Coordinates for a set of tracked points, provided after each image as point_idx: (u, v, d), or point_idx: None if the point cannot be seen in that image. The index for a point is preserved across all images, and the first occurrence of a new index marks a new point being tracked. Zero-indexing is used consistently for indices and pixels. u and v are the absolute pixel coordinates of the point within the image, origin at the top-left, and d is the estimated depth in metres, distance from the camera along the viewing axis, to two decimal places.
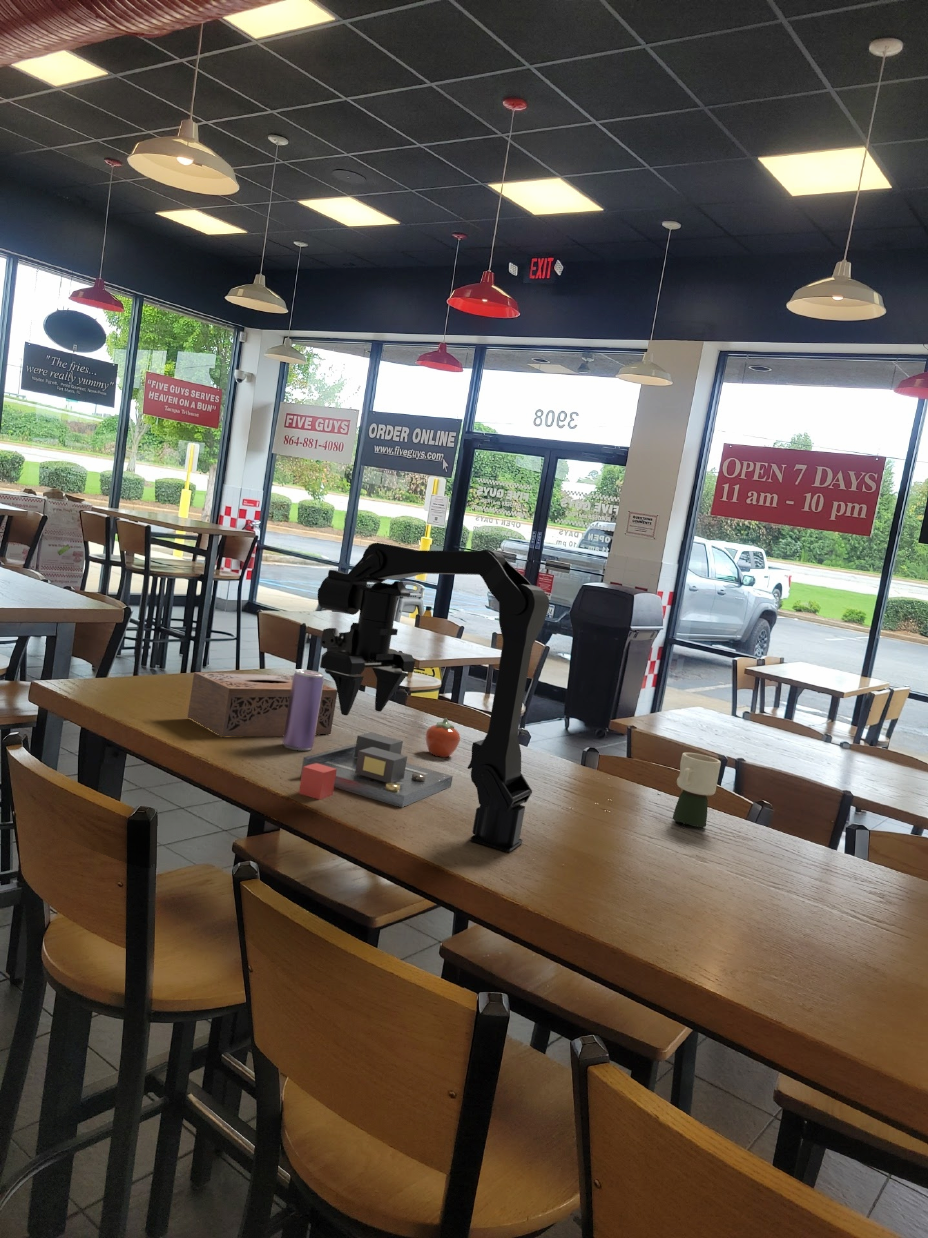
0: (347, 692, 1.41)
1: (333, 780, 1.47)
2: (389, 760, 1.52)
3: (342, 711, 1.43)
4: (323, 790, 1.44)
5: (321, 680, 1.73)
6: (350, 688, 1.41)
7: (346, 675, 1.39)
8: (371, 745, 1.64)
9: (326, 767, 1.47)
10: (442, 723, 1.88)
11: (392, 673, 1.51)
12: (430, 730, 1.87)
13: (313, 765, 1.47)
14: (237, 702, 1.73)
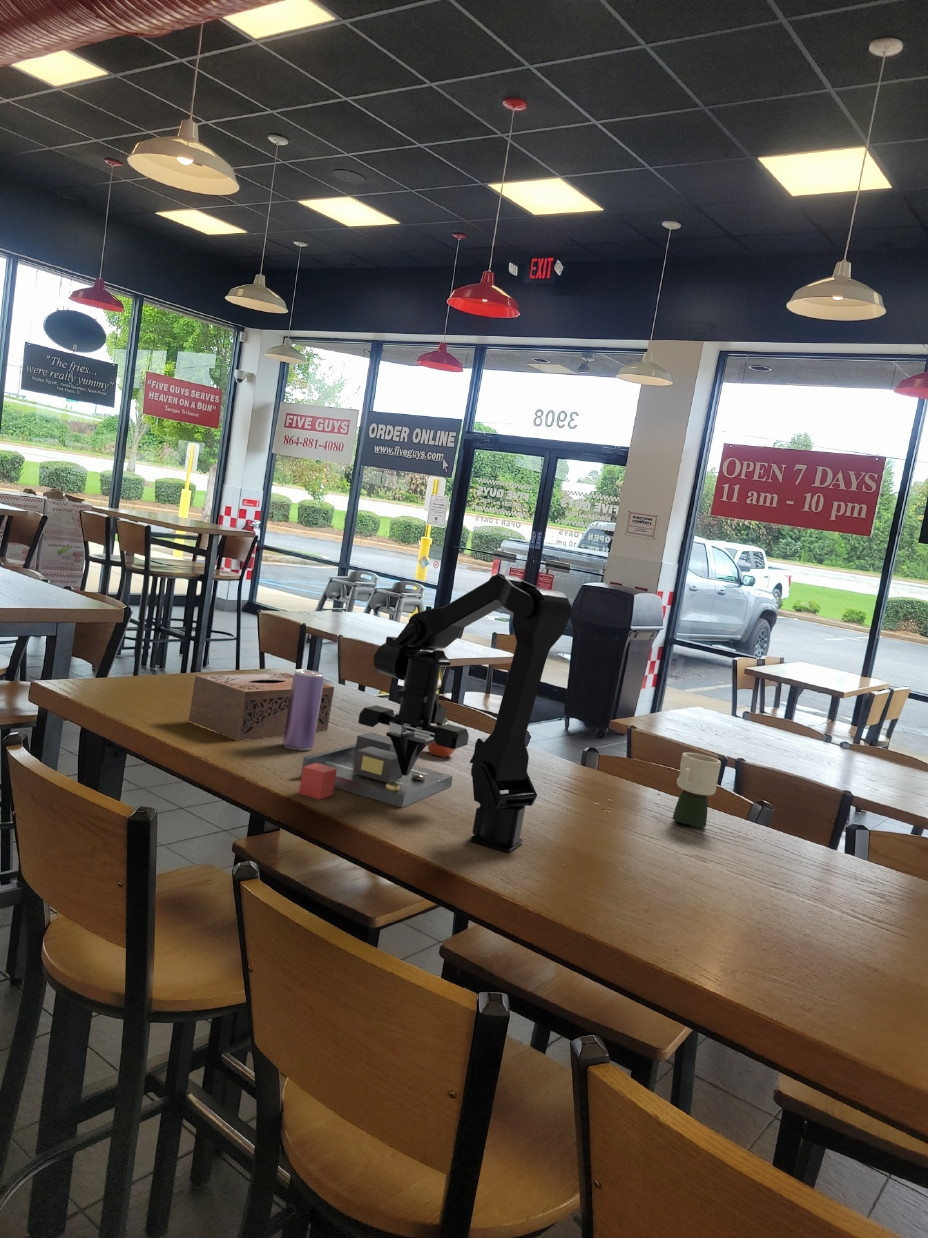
0: None
1: (333, 780, 1.47)
2: (387, 759, 1.52)
3: None
4: (323, 790, 1.44)
5: (321, 680, 1.73)
6: None
7: (388, 732, 1.53)
8: (371, 745, 1.64)
9: (326, 767, 1.47)
10: None
11: None
12: None
13: (313, 765, 1.47)
14: (251, 705, 1.73)
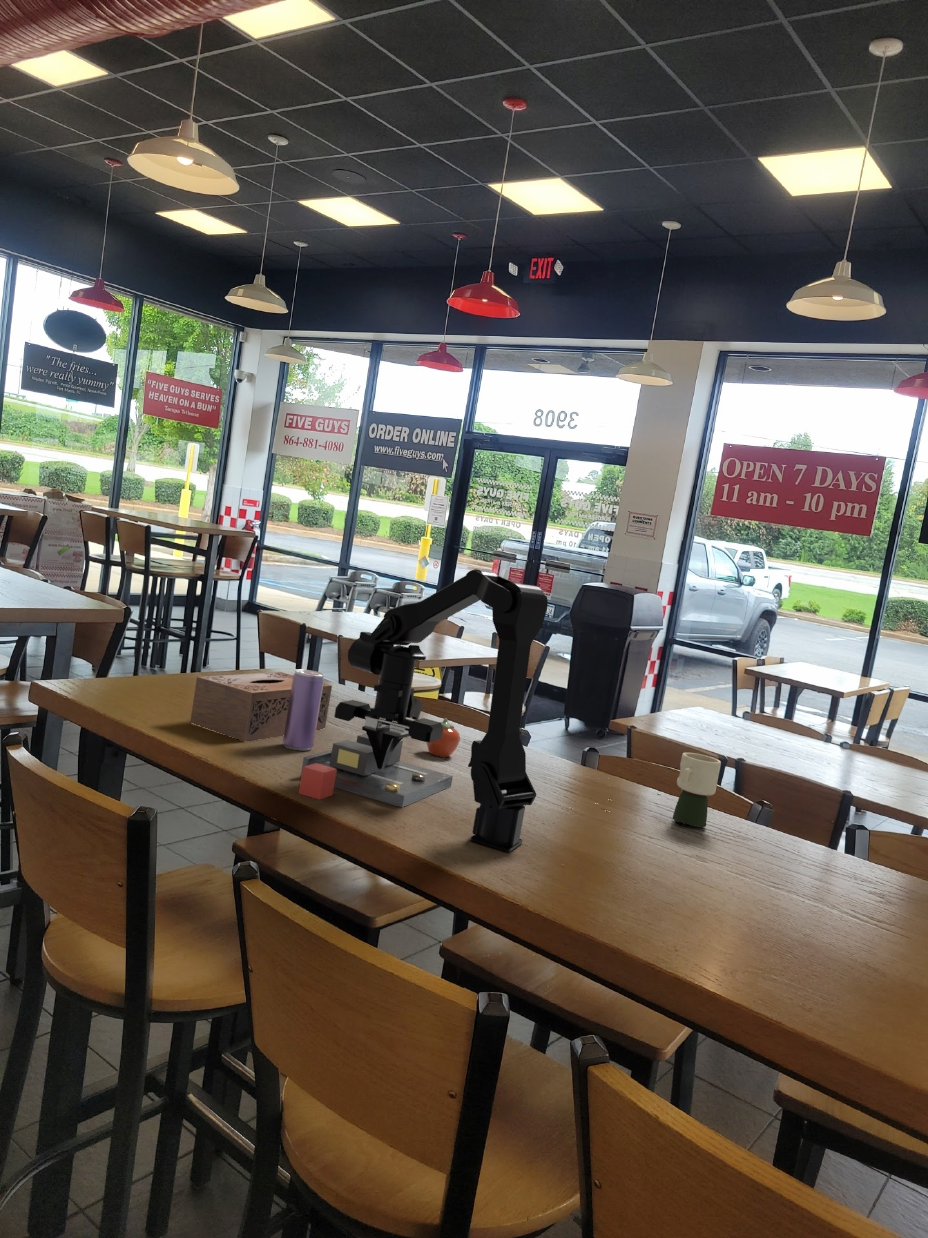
0: None
1: (333, 780, 1.47)
2: (363, 753, 1.54)
3: None
4: (323, 790, 1.44)
5: (321, 680, 1.73)
6: None
7: (364, 726, 1.54)
8: None
9: (326, 767, 1.47)
10: (442, 723, 1.88)
11: None
12: None
13: (313, 765, 1.47)
14: (257, 706, 1.73)
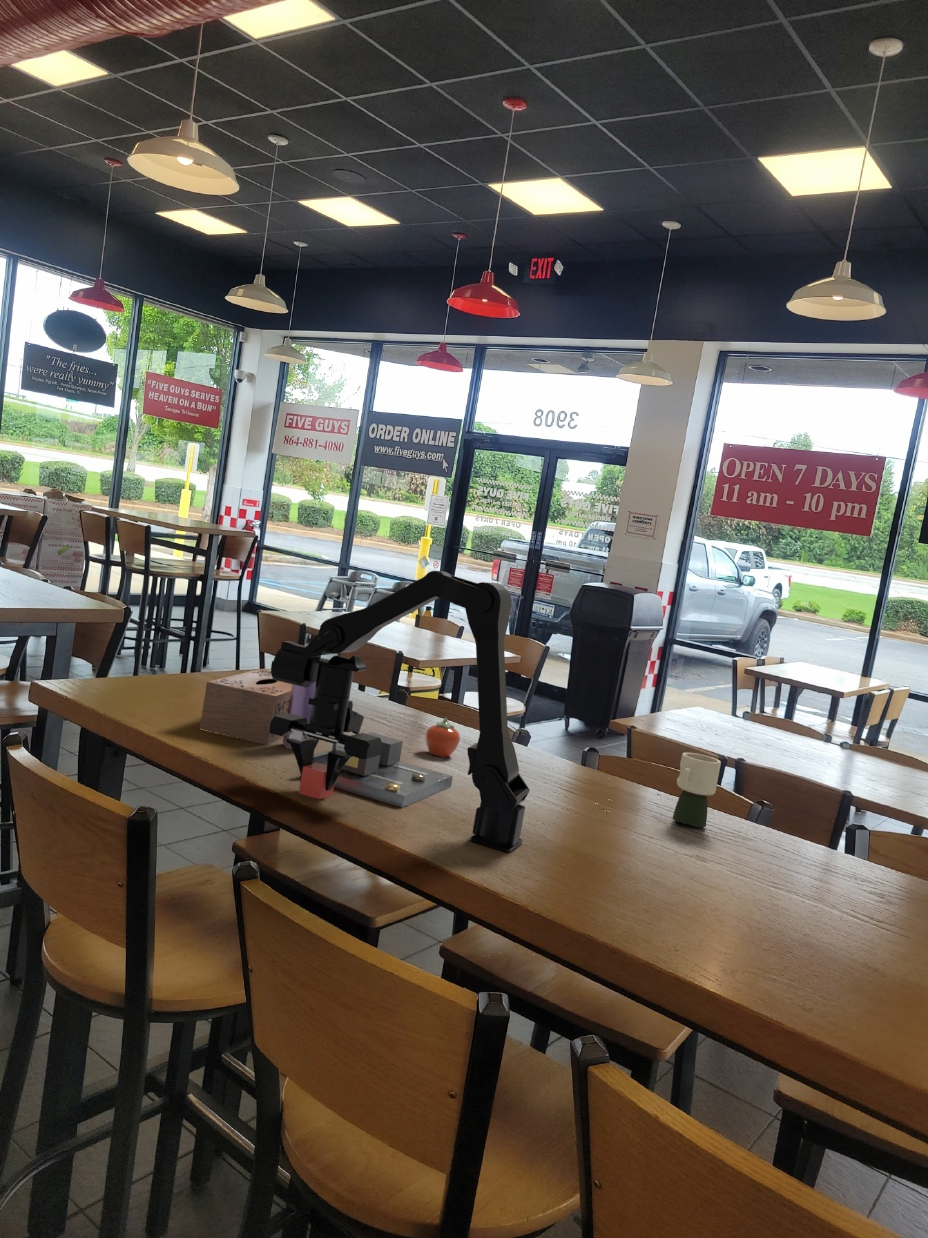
0: None
1: None
2: None
3: None
4: (323, 790, 1.44)
5: None
6: None
7: (289, 738, 1.46)
8: None
9: (326, 767, 1.47)
10: (442, 723, 1.88)
11: None
12: (430, 730, 1.87)
13: (313, 765, 1.47)
14: (278, 708, 1.74)
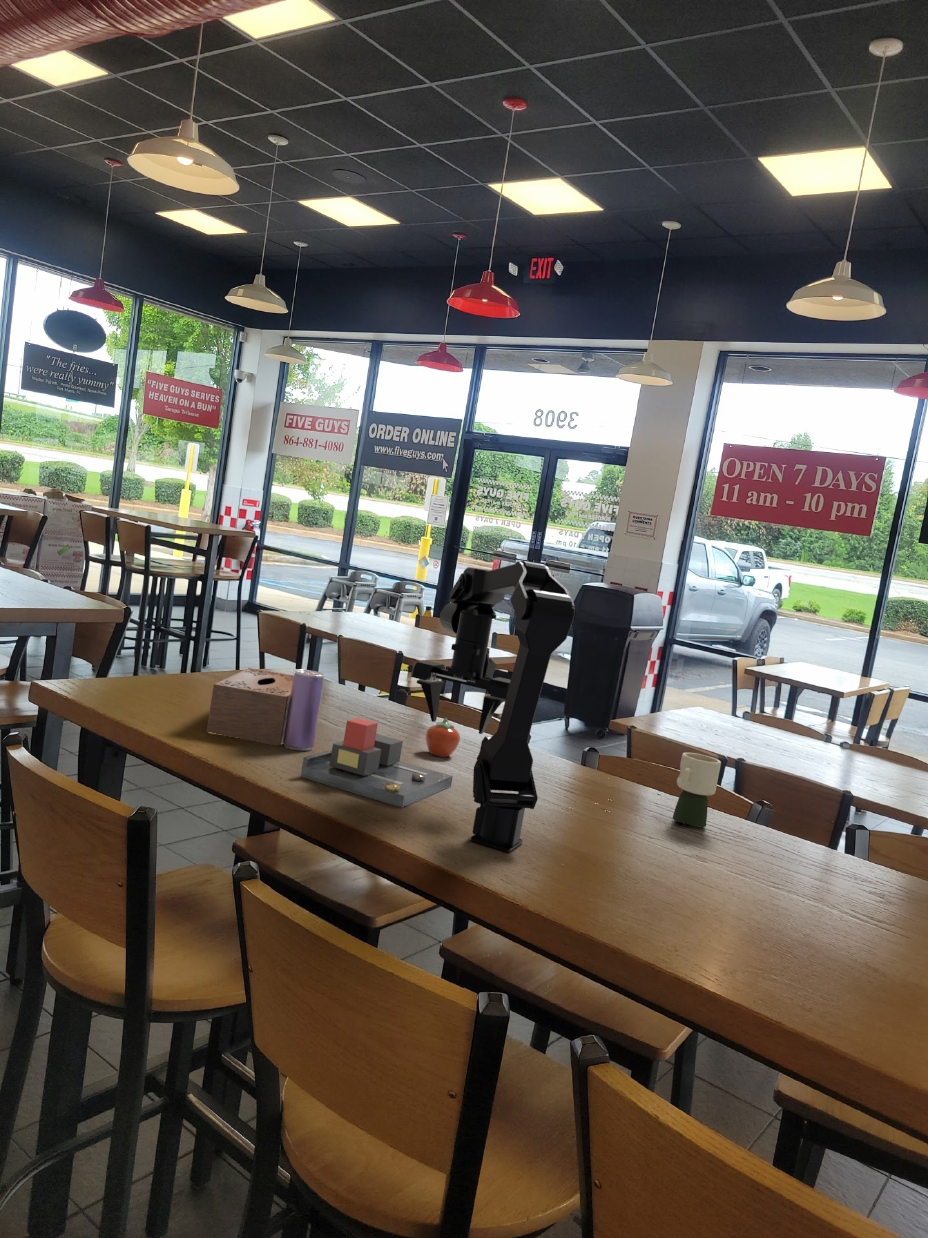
0: None
1: (374, 733, 1.57)
2: (363, 753, 1.54)
3: None
4: (366, 742, 1.55)
5: (322, 680, 1.73)
6: None
7: (419, 680, 1.58)
8: None
9: (368, 721, 1.57)
10: (442, 723, 1.88)
11: (487, 696, 1.53)
12: (430, 730, 1.87)
13: (356, 719, 1.57)
14: (287, 708, 1.75)
